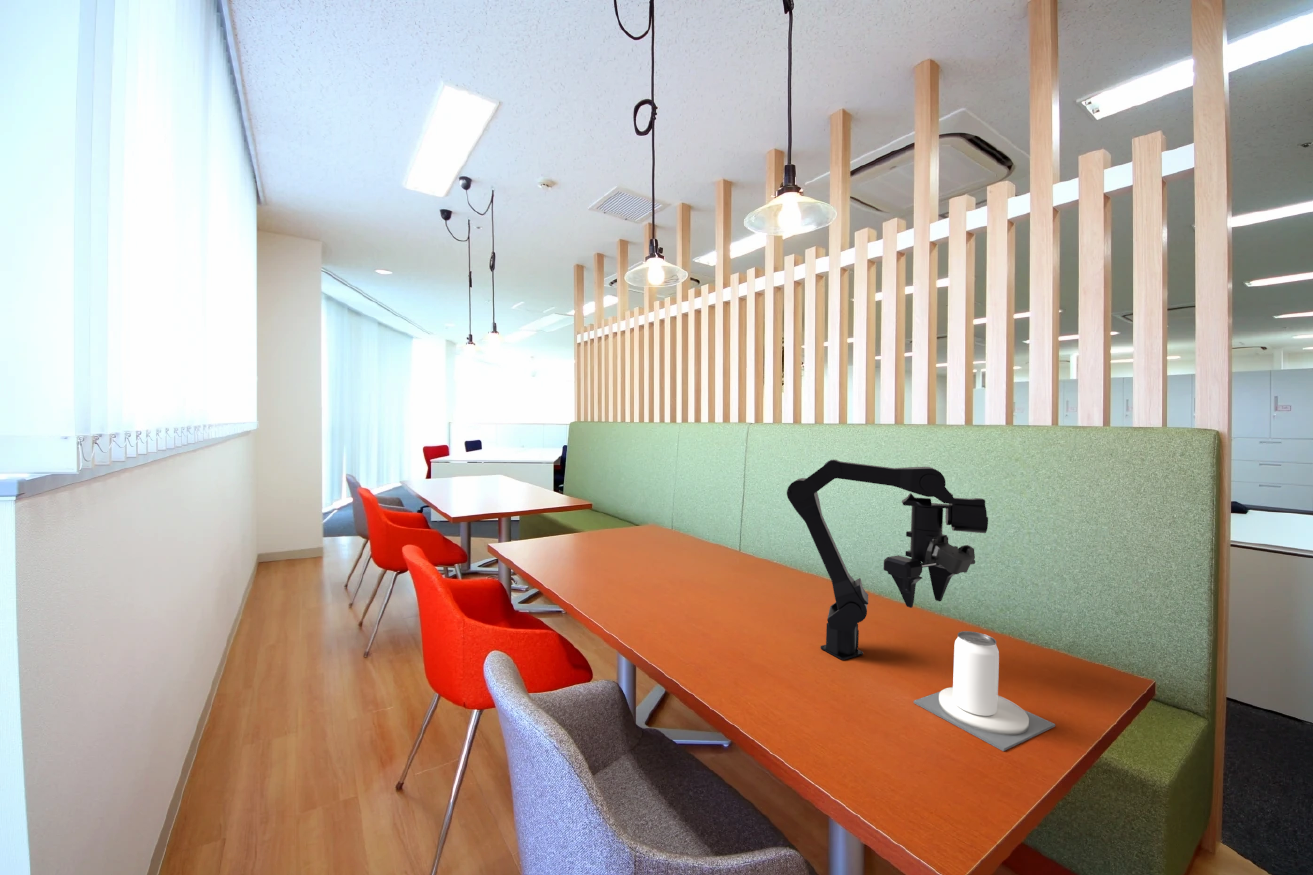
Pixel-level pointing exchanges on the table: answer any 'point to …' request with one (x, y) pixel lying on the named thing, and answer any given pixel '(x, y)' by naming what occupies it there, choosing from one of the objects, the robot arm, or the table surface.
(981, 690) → the can
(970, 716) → the dish
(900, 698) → the table surface
